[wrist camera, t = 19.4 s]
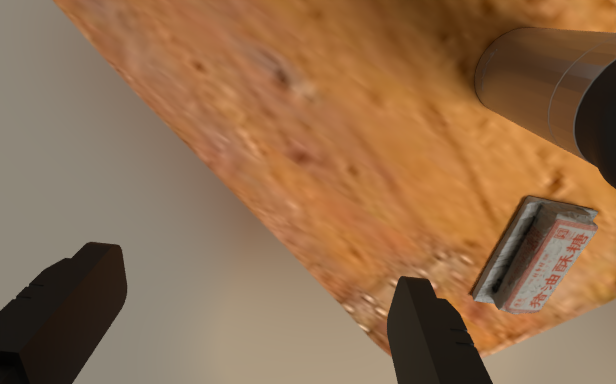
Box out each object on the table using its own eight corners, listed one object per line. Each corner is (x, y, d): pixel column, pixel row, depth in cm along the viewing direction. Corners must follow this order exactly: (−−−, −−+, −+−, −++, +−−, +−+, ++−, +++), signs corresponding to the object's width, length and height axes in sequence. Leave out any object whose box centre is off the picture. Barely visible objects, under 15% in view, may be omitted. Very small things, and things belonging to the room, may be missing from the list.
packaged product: (545, 210, 43) (620, 226, 44) (524, 192, 47) (592, 206, 48) (482, 317, 51) (546, 328, 52) (468, 293, 55) (527, 304, 56)
